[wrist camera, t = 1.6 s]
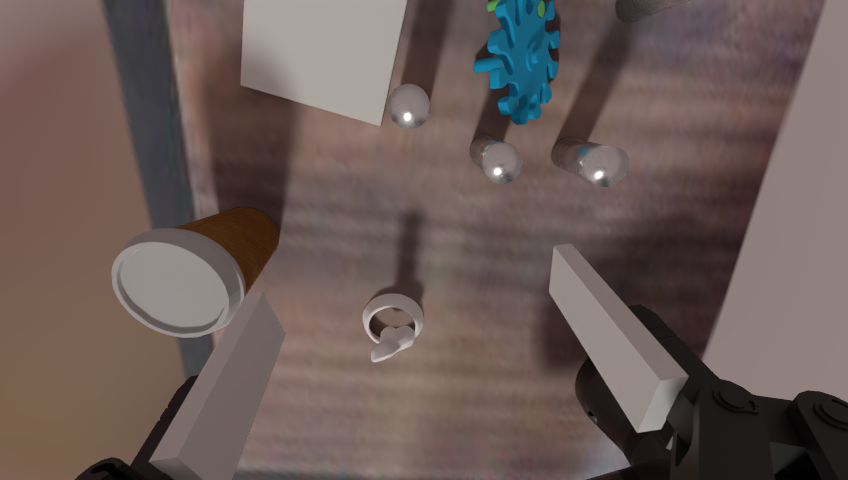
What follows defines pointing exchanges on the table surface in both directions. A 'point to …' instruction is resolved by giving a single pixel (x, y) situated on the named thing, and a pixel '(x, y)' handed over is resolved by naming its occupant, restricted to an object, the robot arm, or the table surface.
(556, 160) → the spacer posts
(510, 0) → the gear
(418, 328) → the hook
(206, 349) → the table surface
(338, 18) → the rubber mat
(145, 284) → the disposable coffee cup
